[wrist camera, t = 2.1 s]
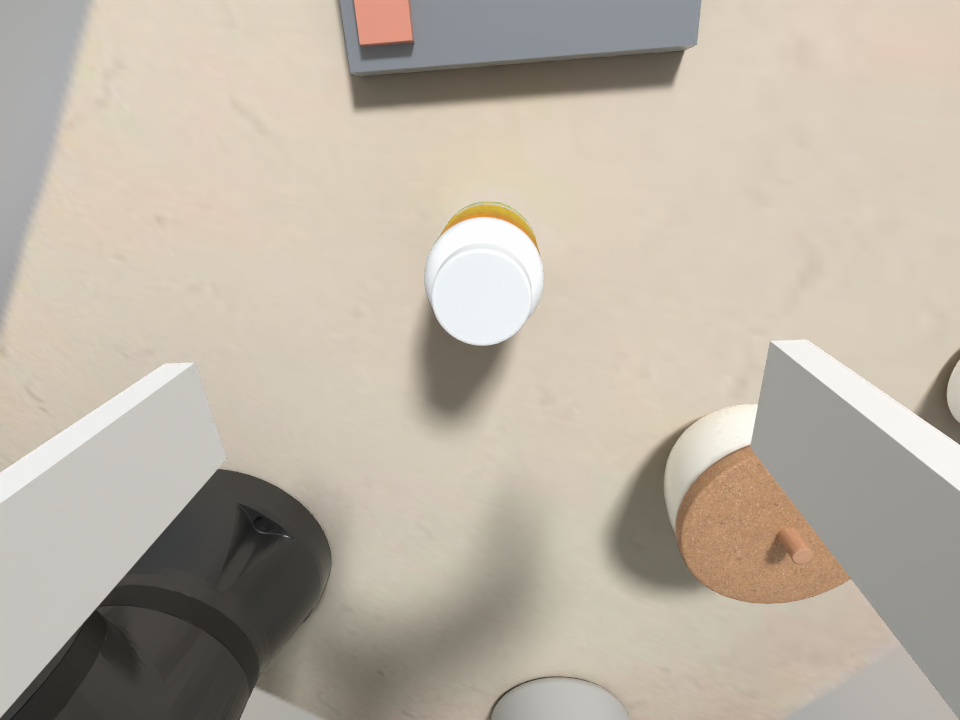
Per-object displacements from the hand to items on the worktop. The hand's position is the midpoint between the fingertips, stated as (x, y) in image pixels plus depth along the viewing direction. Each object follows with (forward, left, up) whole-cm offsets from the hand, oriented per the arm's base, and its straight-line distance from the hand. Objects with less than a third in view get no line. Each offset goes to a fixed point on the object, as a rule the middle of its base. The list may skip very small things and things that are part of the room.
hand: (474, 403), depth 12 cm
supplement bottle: (0, 0, -18) cm, 18 cm away
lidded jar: (+15, -14, -18) cm, 27 cm away
